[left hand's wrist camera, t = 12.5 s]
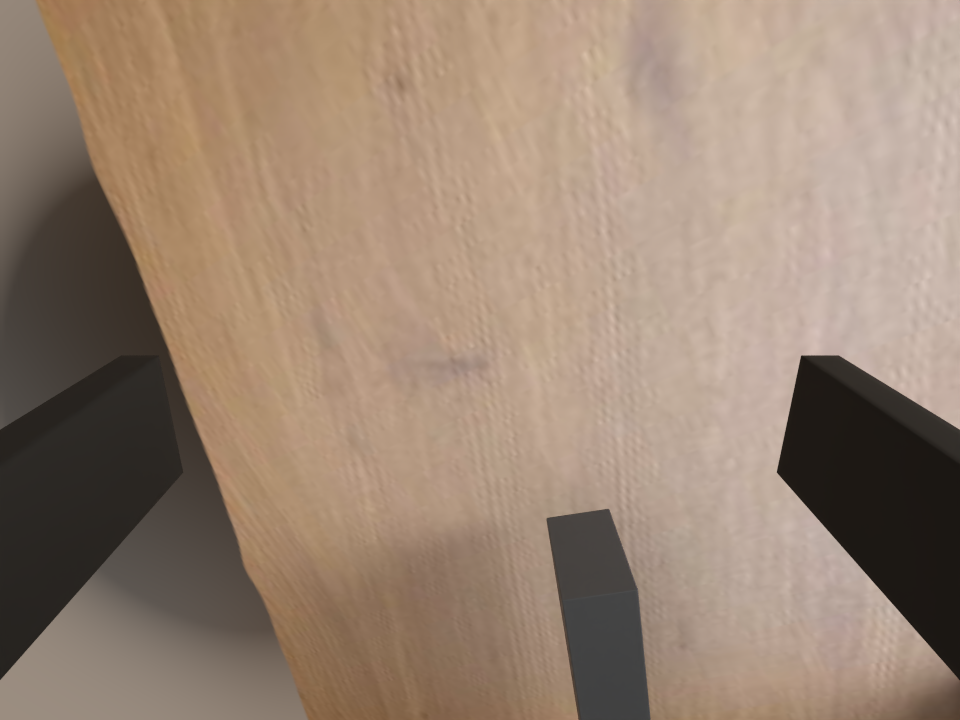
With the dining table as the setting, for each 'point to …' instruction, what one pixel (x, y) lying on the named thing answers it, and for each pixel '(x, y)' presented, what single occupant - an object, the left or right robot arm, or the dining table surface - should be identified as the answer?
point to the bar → (599, 617)
